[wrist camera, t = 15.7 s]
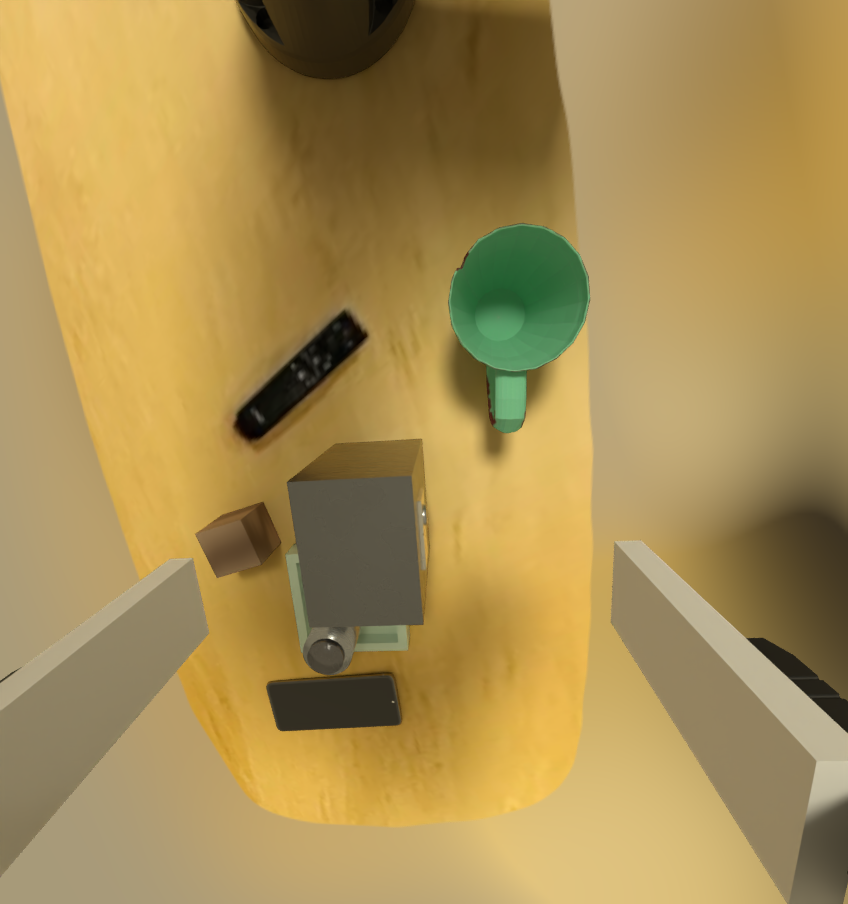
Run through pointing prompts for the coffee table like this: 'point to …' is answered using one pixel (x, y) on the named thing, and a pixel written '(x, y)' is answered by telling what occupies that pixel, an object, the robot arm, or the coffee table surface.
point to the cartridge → (330, 648)
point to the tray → (369, 635)
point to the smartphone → (335, 702)
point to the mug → (517, 310)
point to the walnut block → (239, 540)
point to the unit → (363, 534)
